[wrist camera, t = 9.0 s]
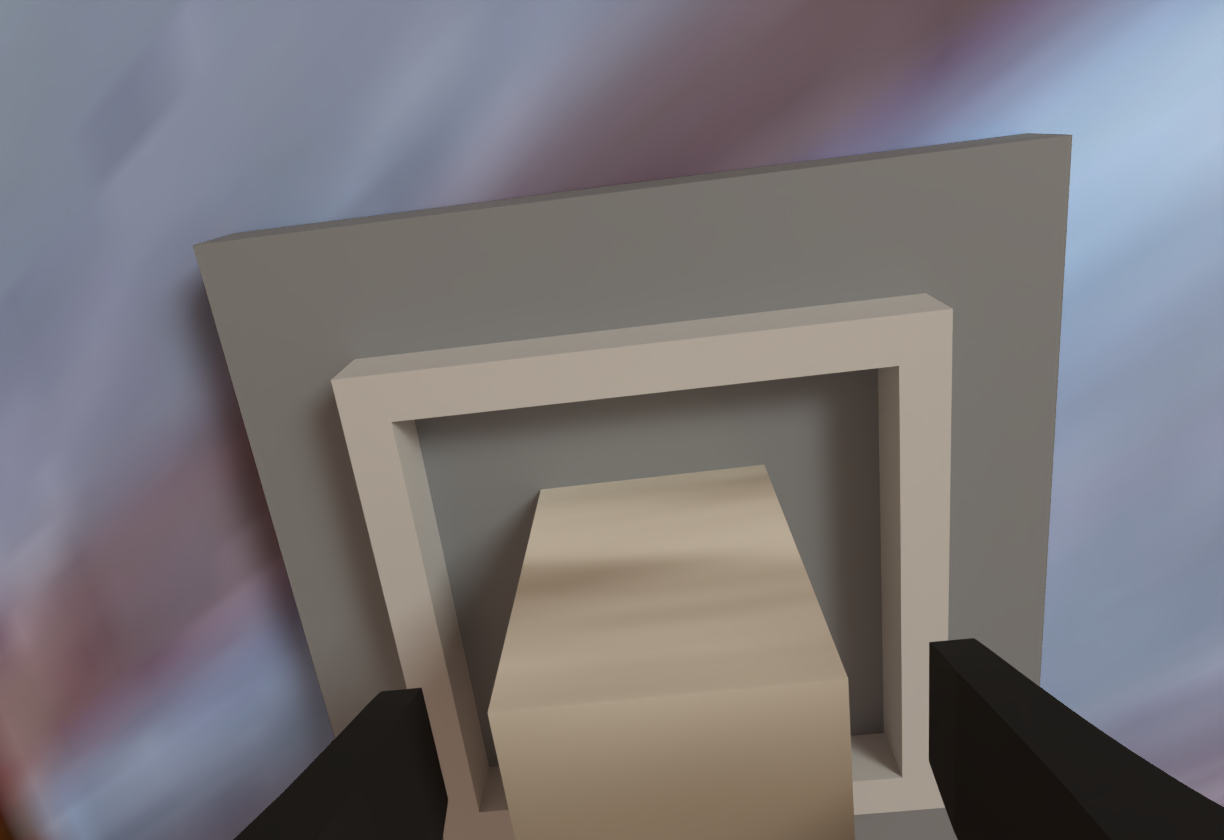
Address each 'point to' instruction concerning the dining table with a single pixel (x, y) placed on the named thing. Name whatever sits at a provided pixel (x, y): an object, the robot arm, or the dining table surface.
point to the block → (670, 670)
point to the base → (666, 417)
